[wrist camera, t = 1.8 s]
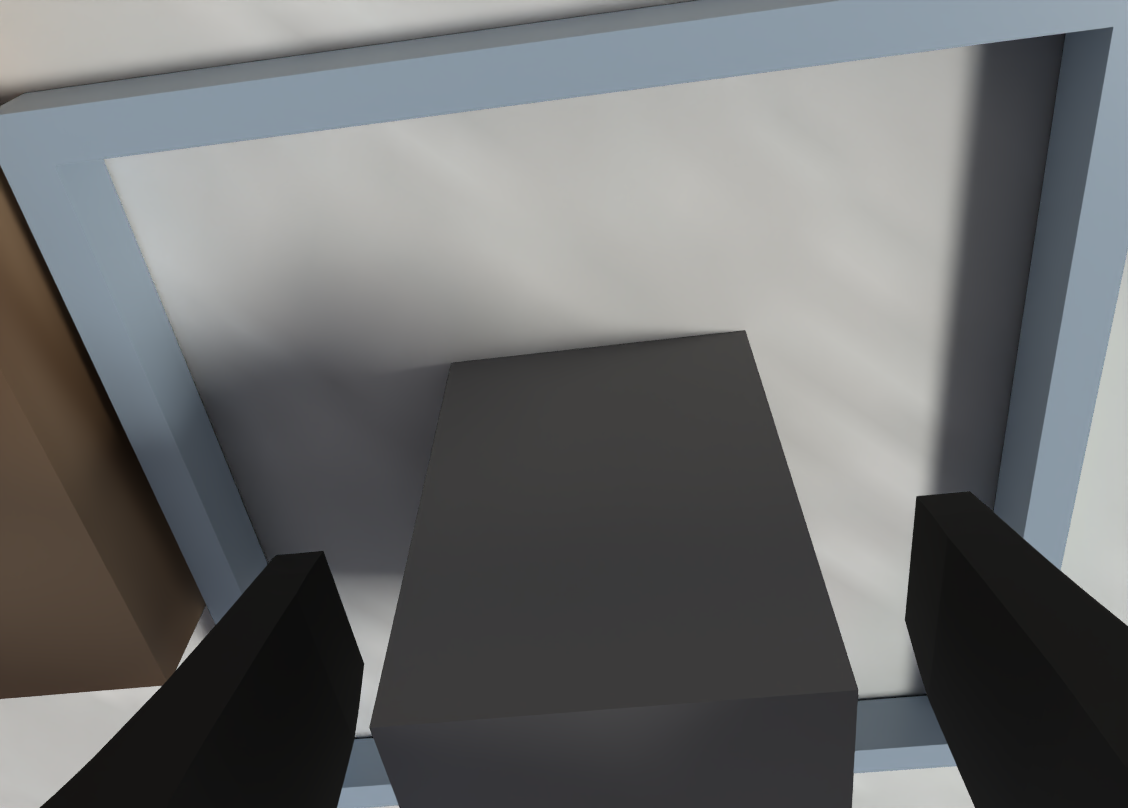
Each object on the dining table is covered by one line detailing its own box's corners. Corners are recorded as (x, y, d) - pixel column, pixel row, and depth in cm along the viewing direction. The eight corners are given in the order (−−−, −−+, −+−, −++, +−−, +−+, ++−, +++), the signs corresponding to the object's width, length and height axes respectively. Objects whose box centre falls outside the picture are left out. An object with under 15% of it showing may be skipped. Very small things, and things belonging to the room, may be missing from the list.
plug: (752, 553, 15) (843, 949, 10) (500, 576, 15) (461, 971, 10) (745, 329, 12) (858, 690, 7) (451, 362, 13) (369, 727, 8)
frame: (997, 712, 16) (1019, 760, 16) (316, 763, 18) (303, 811, 17) (1137, -60, 10) (1190, -48, 9) (24, 93, 11) (-22, 118, 10)
